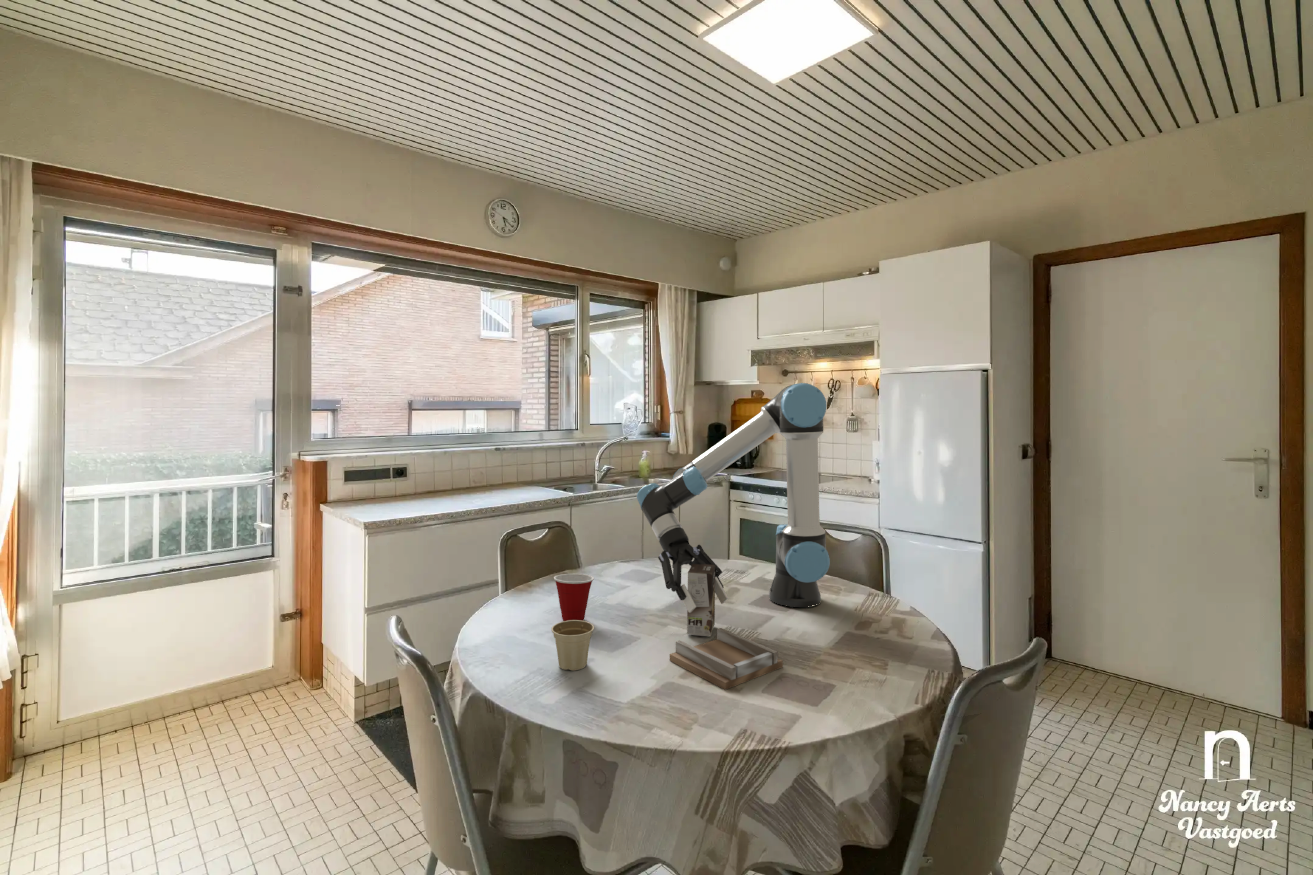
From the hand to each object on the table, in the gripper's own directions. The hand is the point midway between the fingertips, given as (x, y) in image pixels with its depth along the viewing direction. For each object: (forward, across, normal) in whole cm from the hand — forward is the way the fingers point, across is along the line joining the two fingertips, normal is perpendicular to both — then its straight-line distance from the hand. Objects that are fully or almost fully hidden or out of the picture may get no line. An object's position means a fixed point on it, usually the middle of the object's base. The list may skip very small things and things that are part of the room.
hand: (709, 605), depth 155 cm
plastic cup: (-16, +22, -27) cm, 38 cm away
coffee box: (+3, 0, -7) cm, 8 cm away
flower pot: (+2, +37, -9) cm, 38 cm away
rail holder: (+16, +9, +5) cm, 19 cm away
